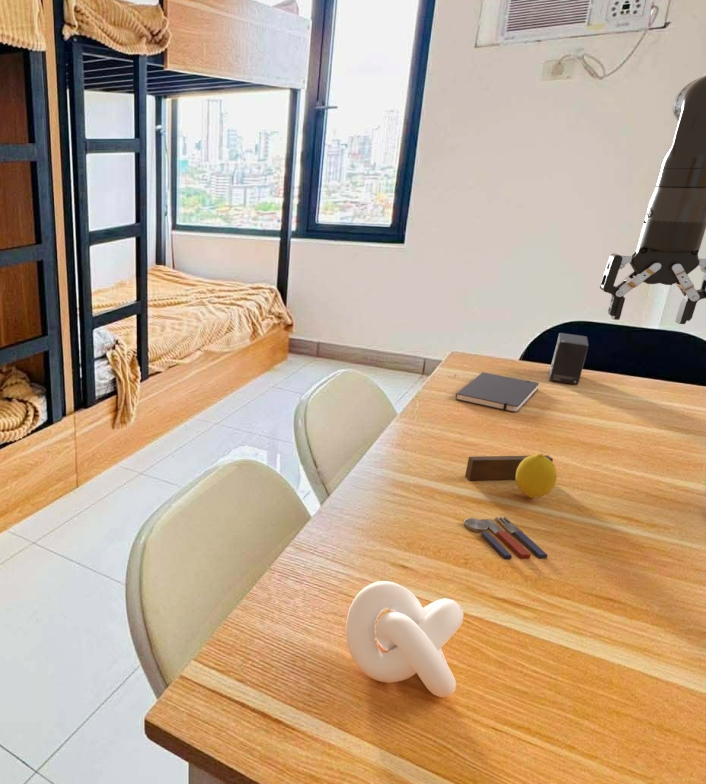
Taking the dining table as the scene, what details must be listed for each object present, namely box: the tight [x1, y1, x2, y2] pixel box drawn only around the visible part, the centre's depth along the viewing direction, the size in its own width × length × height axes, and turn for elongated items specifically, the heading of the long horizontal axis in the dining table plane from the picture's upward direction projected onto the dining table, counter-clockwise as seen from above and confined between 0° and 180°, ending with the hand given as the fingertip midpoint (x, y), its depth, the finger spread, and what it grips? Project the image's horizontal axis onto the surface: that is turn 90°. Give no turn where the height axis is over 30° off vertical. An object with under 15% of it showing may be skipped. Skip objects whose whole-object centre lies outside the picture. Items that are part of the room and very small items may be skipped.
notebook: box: [455, 371, 540, 413], centre depth 150 cm, size 13×2×21 cm
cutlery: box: [463, 516, 549, 560], centre depth 93 cm, size 10×8×1 cm
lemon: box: [515, 453, 557, 499], centre depth 103 cm, size 6×6×8 cm
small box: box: [548, 332, 589, 385], centre depth 159 cm, size 11×6×10 cm, turn 147°
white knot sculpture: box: [345, 580, 465, 699], centre depth 67 cm, size 11×12×9 cm
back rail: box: [464, 454, 554, 481], centre depth 110 cm, size 14×2×4 cm, turn 91°
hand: (646, 320), depth 102 cm, fingers open, 8 cm apart
